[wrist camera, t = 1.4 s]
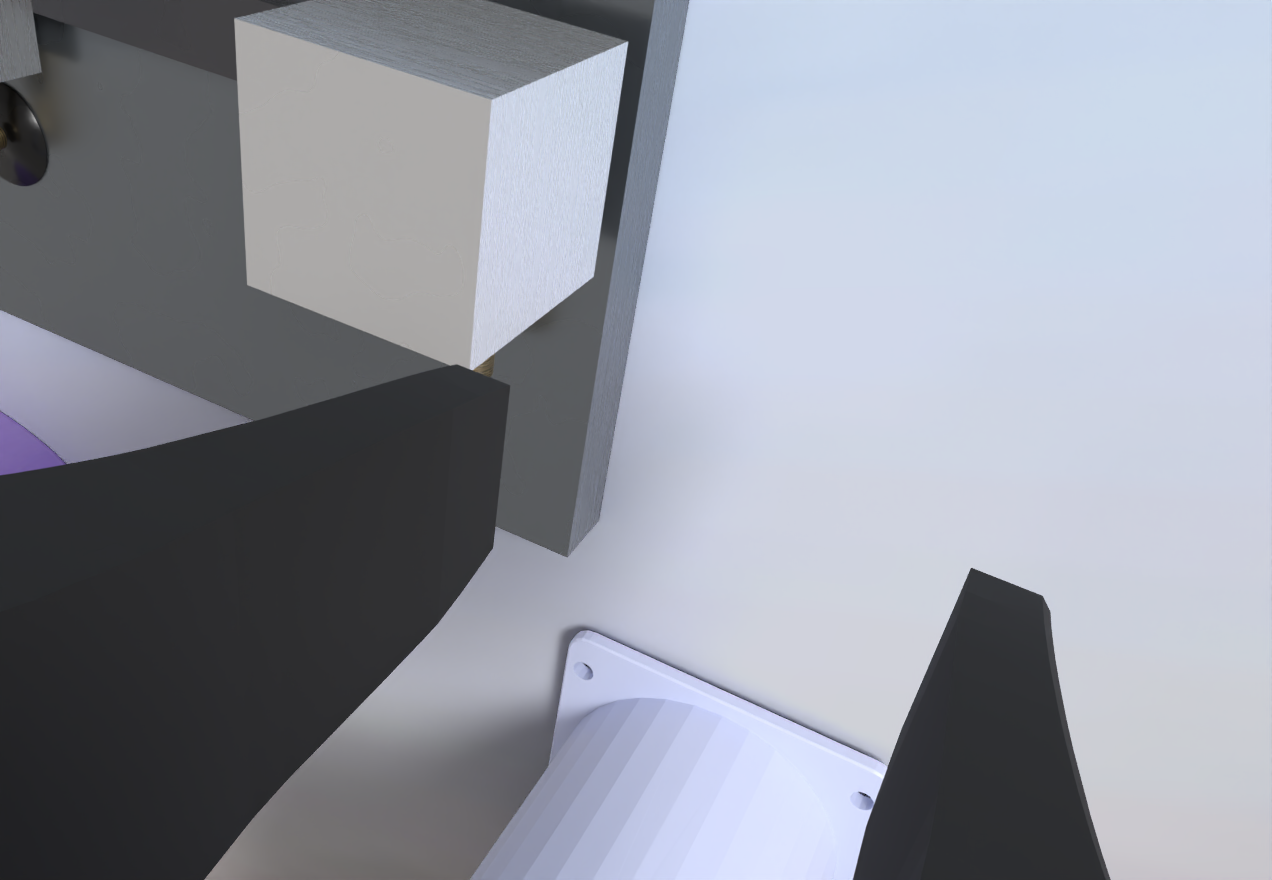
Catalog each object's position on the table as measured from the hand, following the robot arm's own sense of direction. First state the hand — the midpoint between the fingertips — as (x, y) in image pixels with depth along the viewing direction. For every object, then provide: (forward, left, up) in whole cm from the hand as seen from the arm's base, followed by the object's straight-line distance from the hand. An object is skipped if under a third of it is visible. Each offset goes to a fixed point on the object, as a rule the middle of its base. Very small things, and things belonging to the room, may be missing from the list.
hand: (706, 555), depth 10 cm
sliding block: (-1, +7, -9) cm, 11 cm away
